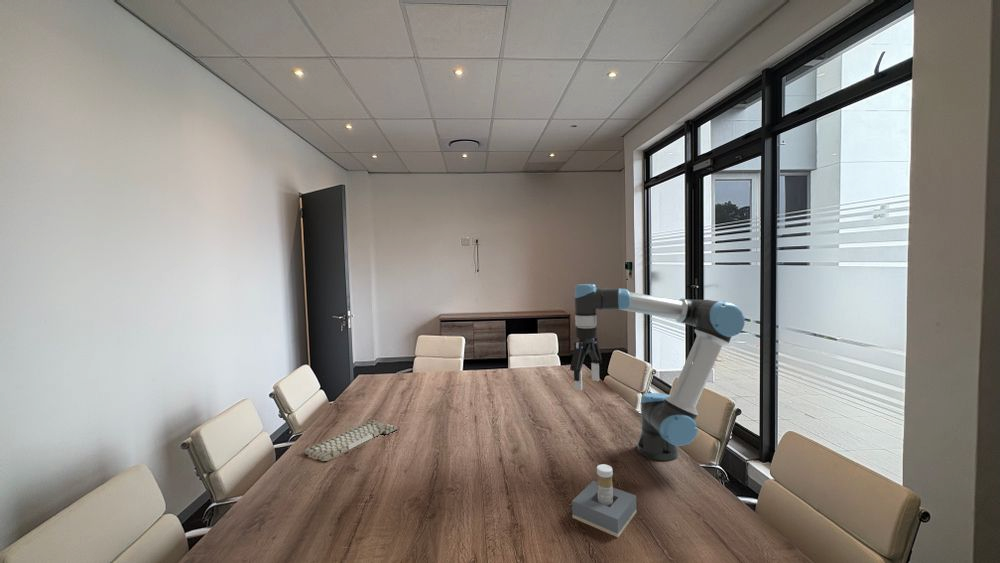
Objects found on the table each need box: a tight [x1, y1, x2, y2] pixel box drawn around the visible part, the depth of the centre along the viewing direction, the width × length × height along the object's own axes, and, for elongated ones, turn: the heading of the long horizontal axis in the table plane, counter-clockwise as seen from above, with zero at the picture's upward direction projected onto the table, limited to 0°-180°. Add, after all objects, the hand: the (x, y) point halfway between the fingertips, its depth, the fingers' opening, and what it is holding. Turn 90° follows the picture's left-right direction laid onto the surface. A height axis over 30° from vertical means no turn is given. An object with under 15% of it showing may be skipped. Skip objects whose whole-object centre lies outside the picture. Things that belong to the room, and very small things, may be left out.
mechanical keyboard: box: [304, 419, 398, 462], centre depth 169 cm, size 38×19×3 cm, turn 149°
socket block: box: [571, 480, 637, 538], centre depth 113 cm, size 14×14×5 cm
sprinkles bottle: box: [596, 463, 614, 507], centre depth 113 cm, size 5×5×13 cm
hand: (587, 385), depth 138 cm, fingers open, 13 cm apart
